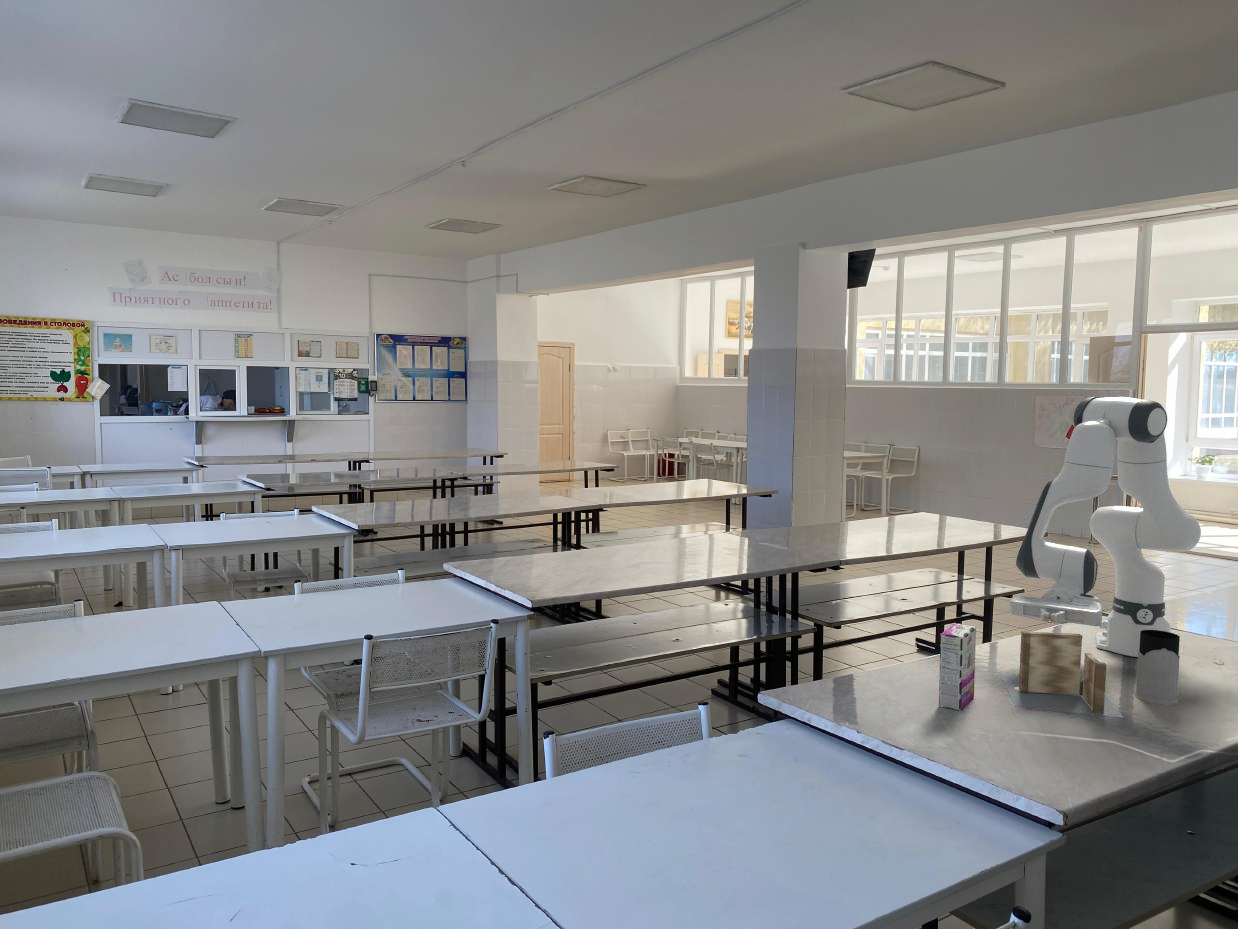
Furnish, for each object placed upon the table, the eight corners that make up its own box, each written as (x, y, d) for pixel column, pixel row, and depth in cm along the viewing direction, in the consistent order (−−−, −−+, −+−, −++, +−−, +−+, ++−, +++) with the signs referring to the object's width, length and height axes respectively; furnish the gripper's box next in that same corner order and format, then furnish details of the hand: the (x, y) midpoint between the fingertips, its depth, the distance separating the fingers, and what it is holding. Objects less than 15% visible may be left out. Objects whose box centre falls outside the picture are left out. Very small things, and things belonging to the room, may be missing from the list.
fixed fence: (1078, 693, 192) (1080, 647, 191) (1086, 694, 192) (1089, 647, 191) (1094, 713, 180) (1096, 663, 179) (1103, 714, 179) (1106, 664, 179)
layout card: (999, 673, 207) (999, 671, 207) (1095, 682, 201) (1095, 680, 201) (1015, 708, 183) (1015, 706, 183) (1124, 720, 177) (1124, 717, 177)
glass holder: (1138, 703, 187) (1142, 637, 186) (1123, 683, 201) (1126, 621, 200) (1184, 708, 185) (1188, 641, 183) (1165, 688, 198) (1169, 625, 197)
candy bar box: (951, 693, 193) (954, 622, 192) (974, 697, 190) (977, 626, 189) (936, 706, 184) (939, 632, 183) (960, 711, 181) (963, 636, 180)
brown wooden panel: (1076, 692, 192) (1079, 633, 191) (1079, 695, 190) (1082, 635, 189) (1018, 689, 194) (1021, 631, 193) (1021, 692, 192) (1024, 633, 191)
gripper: (1015, 587, 217) (1002, 599, 206) (1106, 598, 205) (1097, 611, 194) (1015, 611, 218) (1002, 624, 207) (1105, 623, 205) (1097, 638, 195)
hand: (1049, 618), depth 200 cm, fingers closed
